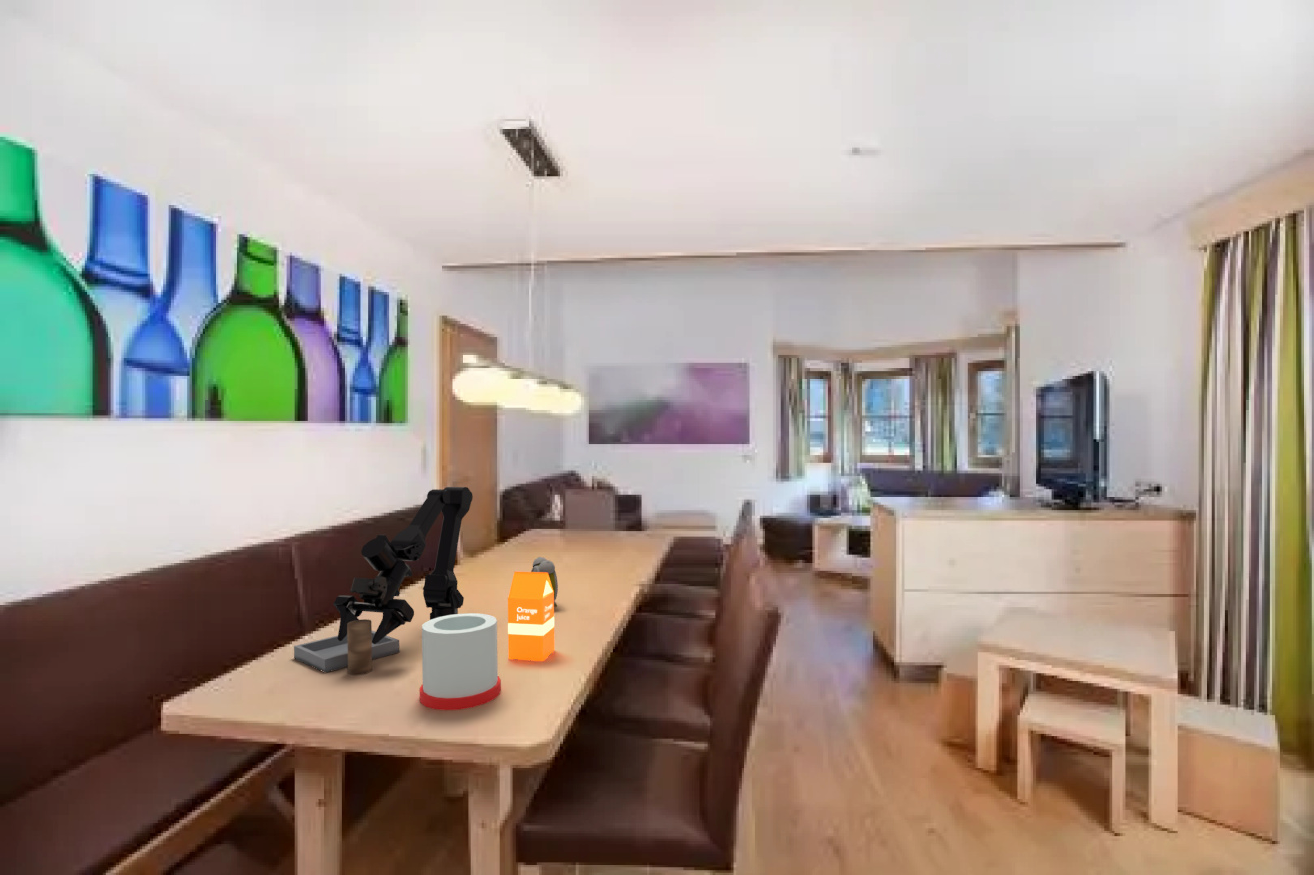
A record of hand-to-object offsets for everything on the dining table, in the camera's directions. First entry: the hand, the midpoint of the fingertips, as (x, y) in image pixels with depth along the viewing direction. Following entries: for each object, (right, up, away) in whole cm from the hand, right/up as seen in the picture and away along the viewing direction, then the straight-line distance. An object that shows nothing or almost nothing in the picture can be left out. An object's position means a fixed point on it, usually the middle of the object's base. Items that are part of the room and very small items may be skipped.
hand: (356, 641), depth 151 cm
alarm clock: (+34, -6, +55) cm, 65 cm away
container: (+27, -7, -13) cm, 31 cm away
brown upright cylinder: (0, -7, +1) cm, 7 cm away
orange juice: (+37, -7, +11) cm, 40 cm away
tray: (-8, -7, +12) cm, 16 cm away
